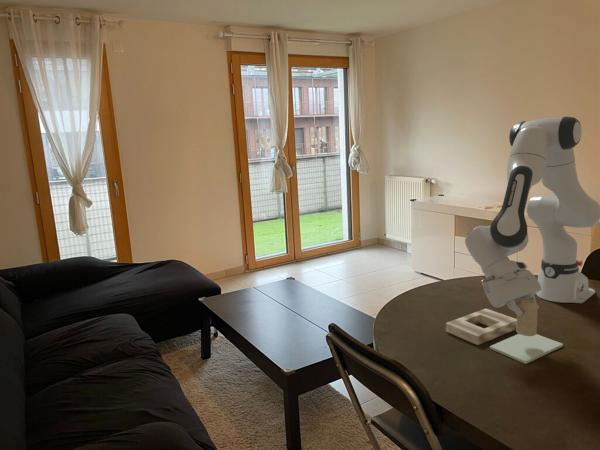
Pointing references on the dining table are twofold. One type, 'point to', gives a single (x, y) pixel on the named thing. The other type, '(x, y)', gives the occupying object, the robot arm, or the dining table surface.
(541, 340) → the sage mat
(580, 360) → the dining table surface
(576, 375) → the dining table surface
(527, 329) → the candle
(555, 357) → the dining table surface
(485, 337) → the socket block
